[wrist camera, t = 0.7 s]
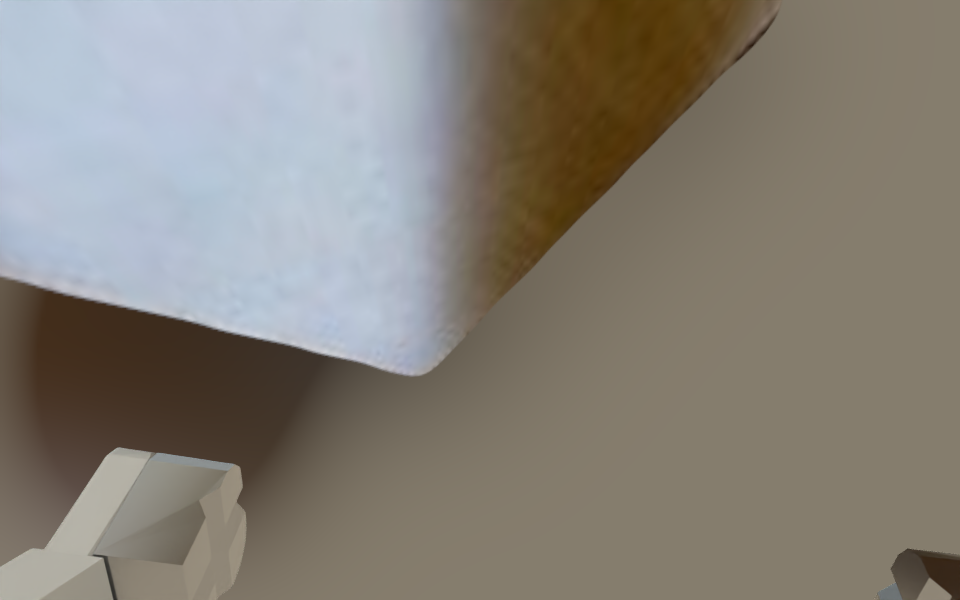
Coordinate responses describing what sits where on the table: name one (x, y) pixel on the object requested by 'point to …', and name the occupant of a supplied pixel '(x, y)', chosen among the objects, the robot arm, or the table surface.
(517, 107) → the table surface
